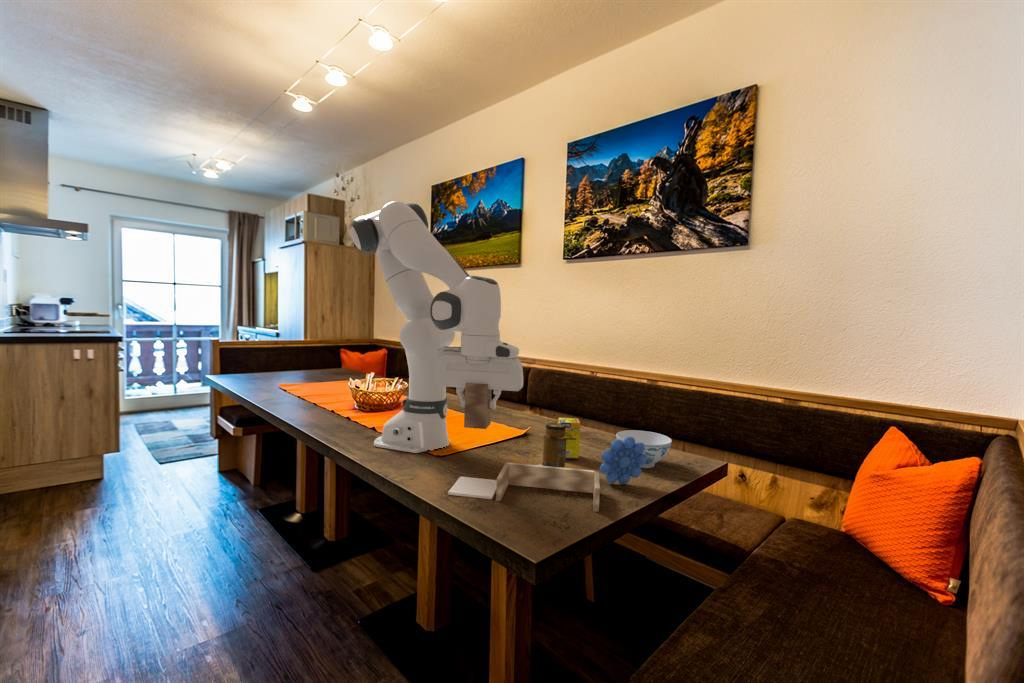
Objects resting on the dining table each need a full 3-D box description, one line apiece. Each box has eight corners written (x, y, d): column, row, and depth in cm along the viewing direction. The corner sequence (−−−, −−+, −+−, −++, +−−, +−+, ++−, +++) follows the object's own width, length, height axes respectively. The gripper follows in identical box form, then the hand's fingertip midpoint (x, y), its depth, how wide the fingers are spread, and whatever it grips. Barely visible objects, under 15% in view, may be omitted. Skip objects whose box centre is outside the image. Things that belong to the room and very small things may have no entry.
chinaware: (677, 463, 129) (678, 437, 129) (659, 477, 117) (661, 448, 117) (627, 452, 138) (628, 427, 138) (606, 464, 126) (607, 437, 126)
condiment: (561, 464, 125) (563, 421, 124) (573, 475, 116) (575, 429, 116) (536, 465, 123) (538, 421, 122) (546, 476, 115) (548, 429, 114)
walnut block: (464, 427, 102) (465, 383, 101) (469, 422, 107) (471, 380, 106) (485, 429, 101) (487, 384, 100) (490, 423, 106) (491, 381, 105)
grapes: (639, 478, 116) (642, 432, 115) (649, 488, 109) (651, 439, 108) (594, 477, 115) (597, 431, 114) (601, 487, 108) (603, 438, 108)
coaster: (448, 494, 100) (448, 492, 100) (460, 478, 110) (460, 476, 110) (491, 499, 99) (492, 496, 99) (500, 483, 109) (500, 480, 109)
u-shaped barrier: (495, 500, 98) (496, 478, 98) (504, 482, 109) (505, 462, 109) (598, 511, 95) (599, 488, 94) (597, 491, 106) (598, 471, 105)
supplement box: (579, 461, 128) (580, 423, 127) (557, 460, 128) (559, 422, 127) (576, 454, 134) (578, 418, 133) (556, 453, 134) (558, 417, 133)
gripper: (431, 346, 101) (430, 407, 102) (521, 350, 98) (519, 413, 99) (440, 344, 108) (439, 402, 108) (525, 348, 104) (523, 408, 105)
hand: (478, 407), depth 104 cm, fingers closed on walnut block, 5 cm apart
